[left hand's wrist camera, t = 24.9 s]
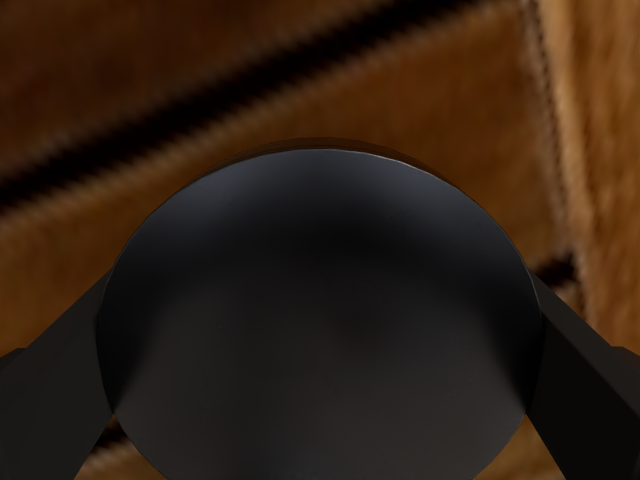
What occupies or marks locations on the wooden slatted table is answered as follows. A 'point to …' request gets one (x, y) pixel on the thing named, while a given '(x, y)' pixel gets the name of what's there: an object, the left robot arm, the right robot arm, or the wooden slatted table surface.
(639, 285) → the wooden slatted table surface
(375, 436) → the lid
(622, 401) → the left robot arm
